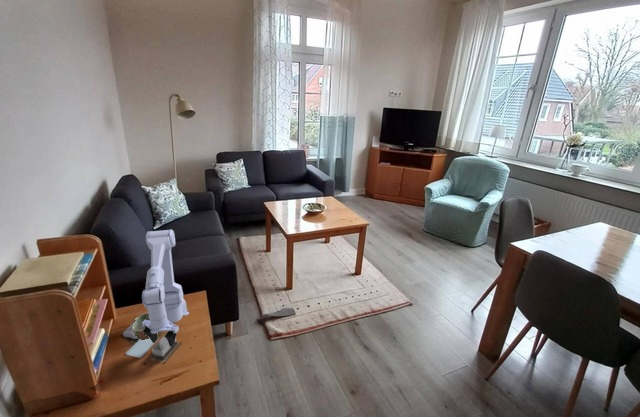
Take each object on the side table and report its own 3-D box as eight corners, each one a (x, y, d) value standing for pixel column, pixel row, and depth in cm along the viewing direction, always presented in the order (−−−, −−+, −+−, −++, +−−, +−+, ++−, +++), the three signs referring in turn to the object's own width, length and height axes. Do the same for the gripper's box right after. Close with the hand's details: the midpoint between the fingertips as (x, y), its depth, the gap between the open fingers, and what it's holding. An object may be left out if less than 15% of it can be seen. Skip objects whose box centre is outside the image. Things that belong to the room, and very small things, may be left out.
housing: (167, 342, 125) (165, 333, 123) (177, 344, 124) (175, 335, 123) (153, 357, 118) (151, 348, 116) (163, 360, 117) (161, 350, 115)
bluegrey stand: (126, 357, 120) (125, 353, 119) (144, 338, 129) (144, 334, 128) (141, 360, 118) (140, 357, 118) (159, 341, 128) (158, 337, 127)
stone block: (122, 343, 129) (141, 343, 126) (118, 333, 127) (137, 334, 125) (143, 324, 140) (161, 324, 137) (139, 315, 138) (158, 315, 136)
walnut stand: (149, 362, 118) (148, 358, 117) (166, 342, 127) (166, 339, 126) (165, 366, 116) (164, 362, 116) (181, 346, 126) (181, 342, 125)
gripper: (133, 319, 112) (140, 346, 117) (167, 326, 109) (173, 354, 115) (147, 306, 118) (153, 333, 124) (180, 313, 116) (185, 340, 121)
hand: (163, 342), depth 120 cm, fingers open, 7 cm apart
